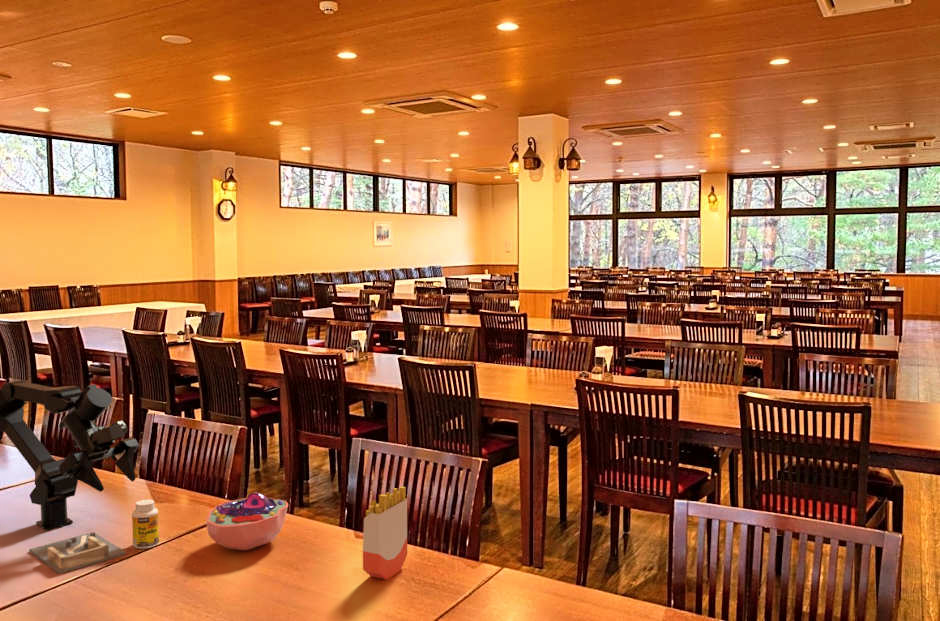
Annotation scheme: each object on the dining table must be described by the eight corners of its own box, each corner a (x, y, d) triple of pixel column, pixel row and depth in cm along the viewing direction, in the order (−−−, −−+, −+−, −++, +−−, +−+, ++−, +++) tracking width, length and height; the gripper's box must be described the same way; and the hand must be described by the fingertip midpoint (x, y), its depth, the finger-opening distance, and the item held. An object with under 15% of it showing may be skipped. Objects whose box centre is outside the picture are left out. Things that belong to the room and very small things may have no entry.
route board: (29, 551, 176) (29, 544, 175) (93, 534, 186) (92, 527, 186) (59, 574, 164) (59, 566, 164) (125, 554, 174) (125, 547, 174)
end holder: (48, 559, 170) (47, 548, 170) (92, 546, 177) (92, 535, 177) (63, 570, 164) (62, 558, 164) (108, 556, 171) (108, 545, 171)
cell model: (187, 553, 175) (186, 504, 174) (251, 524, 193) (250, 480, 192) (244, 567, 167) (243, 516, 166) (305, 536, 185) (304, 490, 184)
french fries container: (361, 580, 161) (360, 495, 159) (389, 561, 171) (389, 481, 169) (380, 585, 159) (379, 499, 157) (407, 565, 168) (407, 484, 167)
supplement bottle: (135, 551, 176) (134, 507, 175) (131, 543, 180) (129, 500, 179) (161, 546, 179) (160, 503, 178) (156, 538, 183) (155, 496, 182)
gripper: (69, 418, 174) (104, 475, 171) (134, 405, 191) (167, 456, 188) (43, 447, 178) (77, 503, 174) (110, 431, 195) (142, 482, 191)
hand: (118, 485), depth 182 cm, fingers open, 9 cm apart
